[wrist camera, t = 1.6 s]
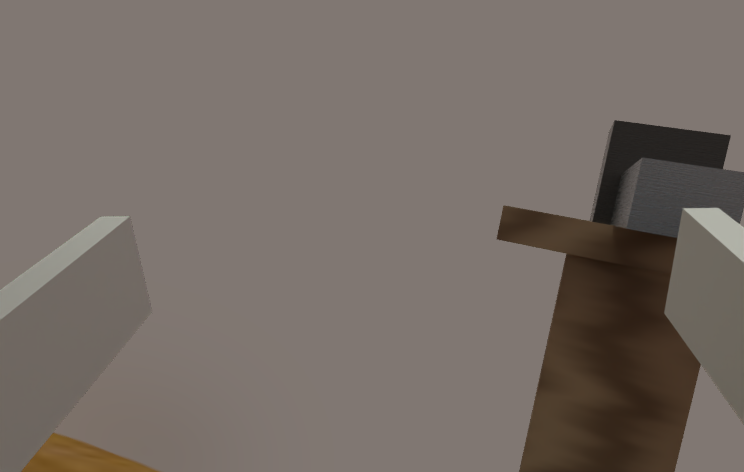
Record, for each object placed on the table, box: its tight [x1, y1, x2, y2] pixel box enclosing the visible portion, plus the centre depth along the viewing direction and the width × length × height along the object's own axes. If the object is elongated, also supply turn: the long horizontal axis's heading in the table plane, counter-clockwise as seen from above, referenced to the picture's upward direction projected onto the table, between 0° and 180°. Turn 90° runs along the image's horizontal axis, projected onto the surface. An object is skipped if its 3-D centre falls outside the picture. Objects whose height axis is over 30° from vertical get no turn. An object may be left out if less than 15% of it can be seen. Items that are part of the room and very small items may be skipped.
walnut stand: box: [497, 206, 701, 472], centre depth 36 cm, size 16×8×30 cm, turn 71°
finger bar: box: [590, 121, 744, 238], centre depth 31 cm, size 6×15×6 cm, turn 161°
